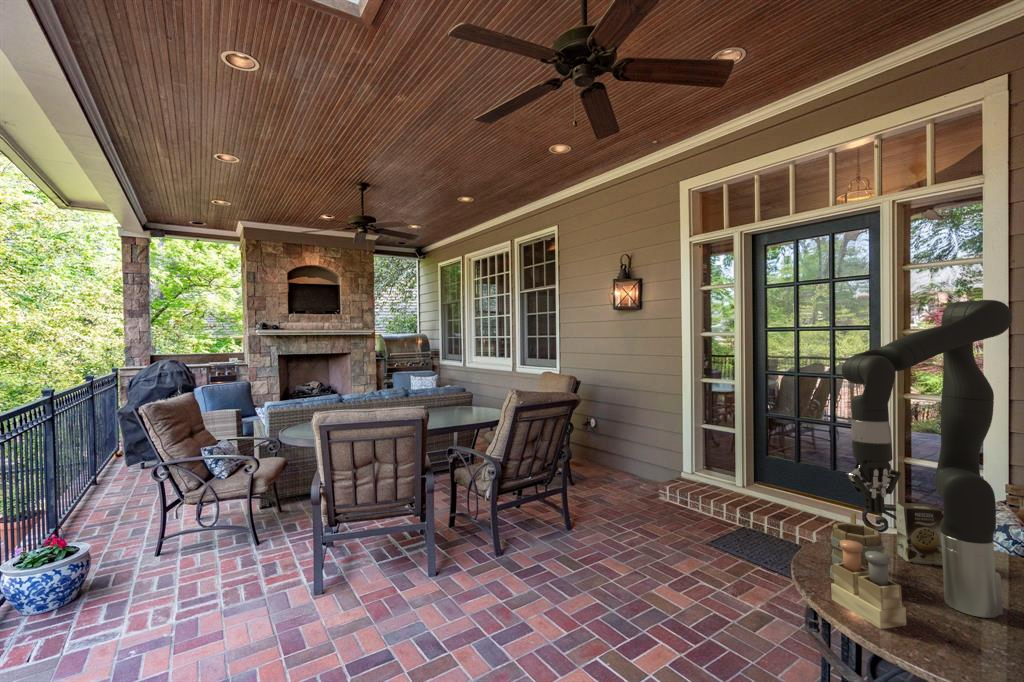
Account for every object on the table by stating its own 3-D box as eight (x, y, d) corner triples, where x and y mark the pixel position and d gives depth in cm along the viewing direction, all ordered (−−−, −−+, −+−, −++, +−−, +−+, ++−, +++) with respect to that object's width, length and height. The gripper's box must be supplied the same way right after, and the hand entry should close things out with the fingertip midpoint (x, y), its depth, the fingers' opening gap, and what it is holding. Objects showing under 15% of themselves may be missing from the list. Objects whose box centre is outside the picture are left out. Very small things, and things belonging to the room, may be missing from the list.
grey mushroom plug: (878, 578, 110) (876, 550, 111) (897, 588, 106) (895, 558, 106) (861, 580, 110) (860, 552, 110) (880, 590, 105) (878, 560, 105)
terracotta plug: (852, 565, 117) (850, 539, 117) (868, 574, 113) (867, 546, 113) (836, 567, 116) (835, 540, 117) (852, 576, 112) (851, 548, 112)
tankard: (889, 597, 117) (886, 538, 118) (829, 583, 125) (826, 528, 125) (885, 567, 133) (882, 515, 134) (832, 557, 141) (830, 507, 141)
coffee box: (908, 563, 135) (905, 508, 136) (897, 553, 142) (894, 501, 142) (946, 566, 133) (942, 510, 133) (933, 557, 139) (930, 503, 140)
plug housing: (855, 596, 118) (853, 561, 118) (906, 625, 105) (904, 585, 105) (831, 599, 117) (830, 563, 117) (880, 629, 104) (878, 588, 104)
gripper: (861, 443, 104) (865, 520, 103) (911, 440, 106) (915, 515, 106) (832, 438, 112) (836, 509, 111) (880, 435, 114) (884, 505, 113)
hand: (875, 512), depth 108 cm, fingers closed
